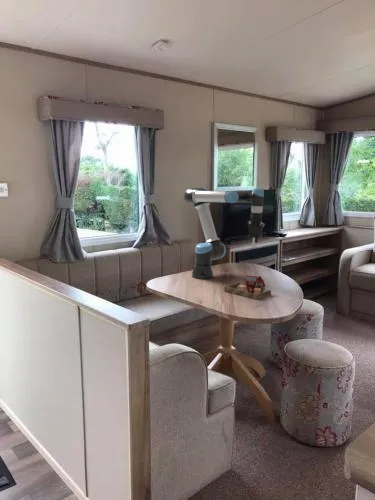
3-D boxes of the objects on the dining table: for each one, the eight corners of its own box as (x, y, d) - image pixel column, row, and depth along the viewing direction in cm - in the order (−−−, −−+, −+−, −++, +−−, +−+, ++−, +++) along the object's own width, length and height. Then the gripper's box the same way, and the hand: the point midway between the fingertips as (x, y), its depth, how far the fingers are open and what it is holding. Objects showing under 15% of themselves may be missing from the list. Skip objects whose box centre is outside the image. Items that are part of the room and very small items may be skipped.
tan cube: (253, 295, 250) (254, 289, 250) (254, 294, 254) (254, 287, 254) (260, 296, 250) (261, 290, 249) (260, 294, 254) (261, 288, 253)
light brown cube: (237, 285, 257) (242, 284, 260) (237, 291, 258) (241, 290, 260) (242, 287, 254) (246, 286, 256) (241, 293, 255) (246, 292, 257)
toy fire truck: (264, 294, 254) (265, 278, 252) (244, 292, 256) (245, 276, 254) (264, 291, 261) (266, 275, 259) (245, 289, 263) (246, 274, 261)
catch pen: (224, 291, 258) (224, 286, 257) (238, 286, 269) (238, 282, 268) (257, 300, 242) (257, 295, 242) (270, 295, 253) (271, 290, 253)
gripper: (245, 211, 275) (242, 246, 279) (262, 213, 267) (259, 249, 271) (251, 211, 281) (248, 245, 285) (268, 213, 272) (265, 248, 277)
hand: (254, 247), depth 278 cm, fingers closed
